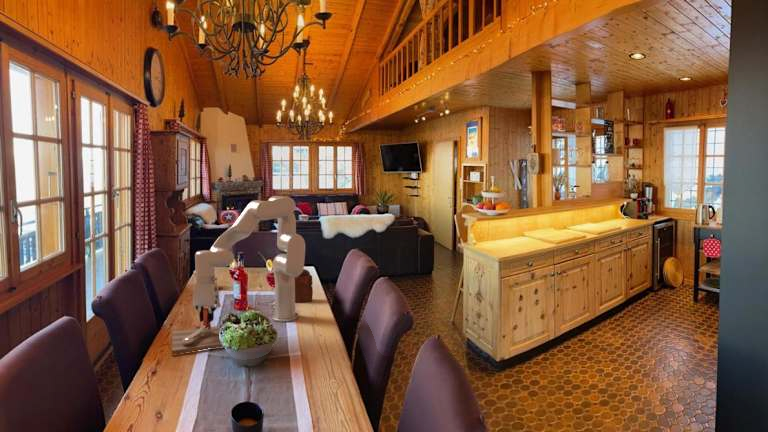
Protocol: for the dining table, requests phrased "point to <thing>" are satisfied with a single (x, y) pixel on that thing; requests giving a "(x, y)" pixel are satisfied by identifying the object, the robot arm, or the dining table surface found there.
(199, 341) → the lever board
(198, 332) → the lever
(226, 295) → the dining table surface
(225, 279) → the dining table surface
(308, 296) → the wooden figurine
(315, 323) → the dining table surface
